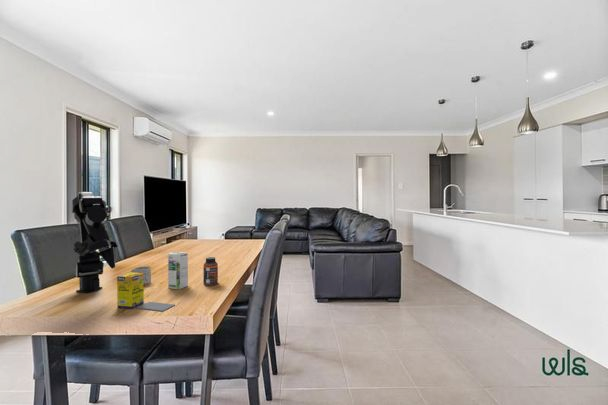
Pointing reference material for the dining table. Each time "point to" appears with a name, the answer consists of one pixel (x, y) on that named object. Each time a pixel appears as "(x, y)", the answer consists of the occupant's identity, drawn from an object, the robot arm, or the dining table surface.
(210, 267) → the supplement bottle
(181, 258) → the syrup box
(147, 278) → the grey box
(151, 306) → the mat
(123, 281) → the supplement box
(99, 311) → the dining table surface
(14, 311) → the dining table surface
